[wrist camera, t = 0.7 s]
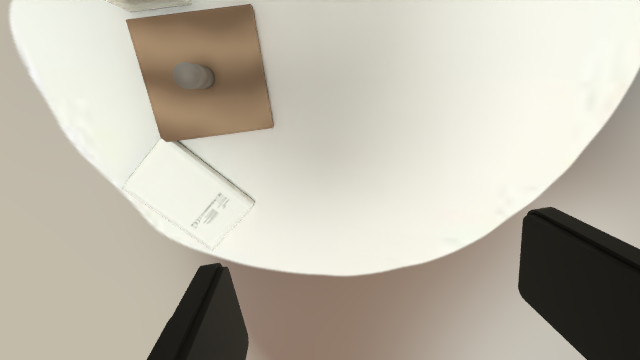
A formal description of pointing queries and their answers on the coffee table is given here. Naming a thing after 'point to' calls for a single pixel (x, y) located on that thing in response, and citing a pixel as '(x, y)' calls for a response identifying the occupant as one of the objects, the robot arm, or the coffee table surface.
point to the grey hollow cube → (147, 4)
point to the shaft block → (203, 72)
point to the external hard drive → (188, 193)
